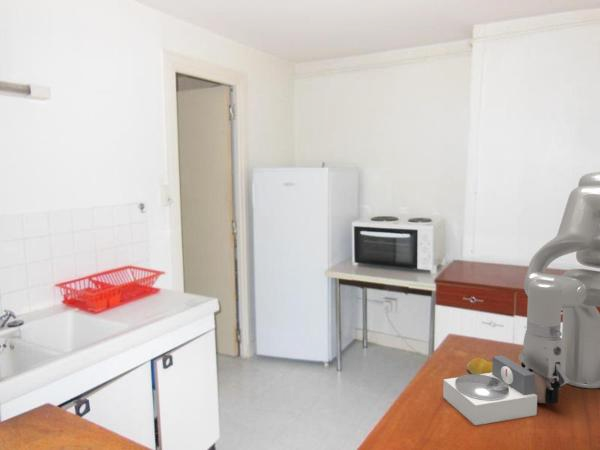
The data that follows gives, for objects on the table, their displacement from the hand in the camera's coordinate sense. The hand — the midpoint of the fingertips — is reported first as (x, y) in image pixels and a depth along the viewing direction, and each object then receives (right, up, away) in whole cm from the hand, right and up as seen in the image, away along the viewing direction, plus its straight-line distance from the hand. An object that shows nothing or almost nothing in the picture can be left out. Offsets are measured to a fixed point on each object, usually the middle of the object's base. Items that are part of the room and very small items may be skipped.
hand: (540, 395), depth 117 cm
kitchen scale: (-14, -2, -1) cm, 14 cm away
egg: (0, -2, 0) cm, 2 cm away
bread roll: (-7, 0, +18) cm, 19 cm away
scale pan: (-16, +3, -2) cm, 16 cm away
